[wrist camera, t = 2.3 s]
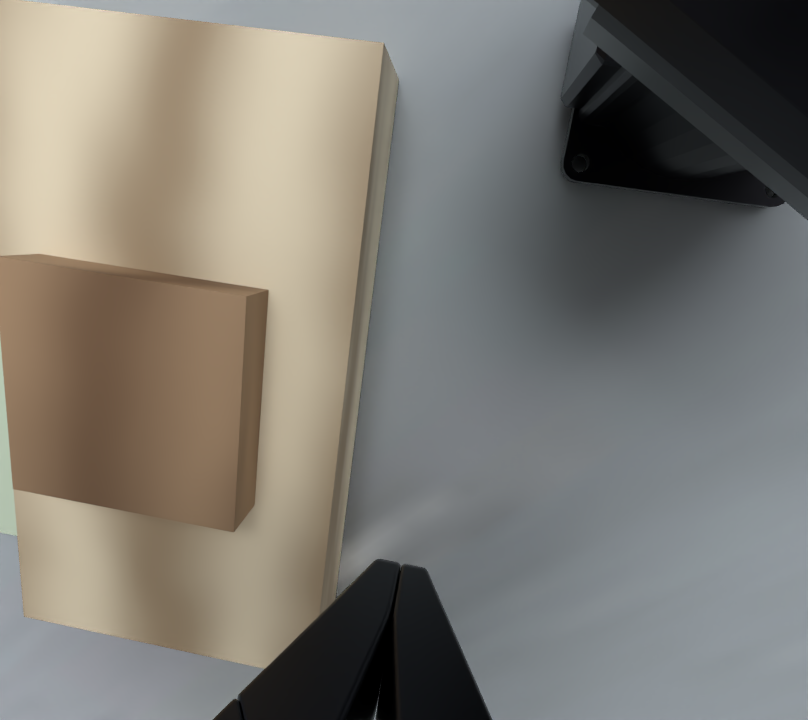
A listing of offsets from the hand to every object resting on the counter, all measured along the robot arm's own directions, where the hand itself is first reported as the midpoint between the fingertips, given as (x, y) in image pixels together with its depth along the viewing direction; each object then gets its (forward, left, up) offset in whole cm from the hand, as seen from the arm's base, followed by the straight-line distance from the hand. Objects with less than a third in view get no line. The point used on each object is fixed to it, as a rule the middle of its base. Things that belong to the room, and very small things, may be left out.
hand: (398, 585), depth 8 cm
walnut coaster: (+9, 0, -7) cm, 11 cm away
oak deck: (+8, 0, -10) cm, 13 cm away
